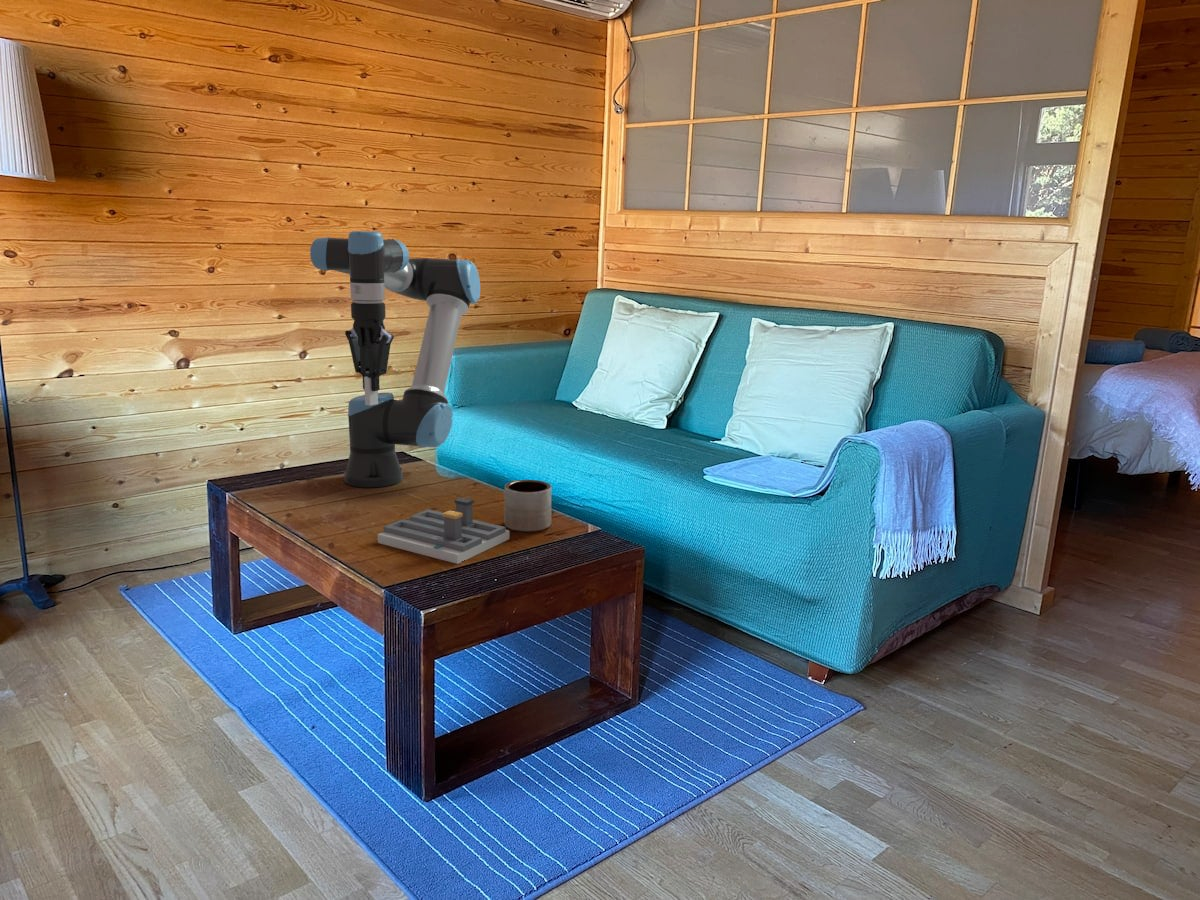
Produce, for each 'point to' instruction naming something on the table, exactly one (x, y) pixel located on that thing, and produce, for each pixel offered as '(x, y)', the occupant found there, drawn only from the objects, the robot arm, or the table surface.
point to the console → (428, 533)
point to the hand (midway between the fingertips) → (371, 404)
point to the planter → (527, 505)
